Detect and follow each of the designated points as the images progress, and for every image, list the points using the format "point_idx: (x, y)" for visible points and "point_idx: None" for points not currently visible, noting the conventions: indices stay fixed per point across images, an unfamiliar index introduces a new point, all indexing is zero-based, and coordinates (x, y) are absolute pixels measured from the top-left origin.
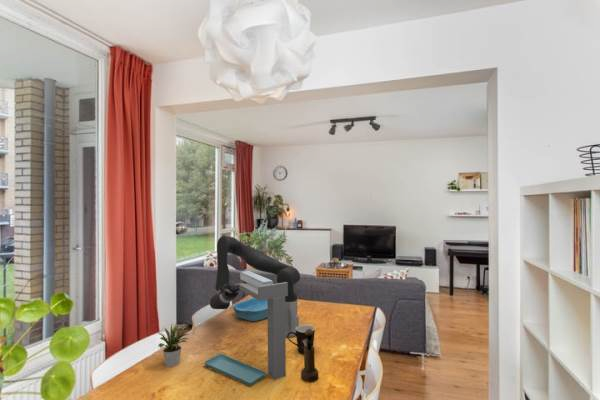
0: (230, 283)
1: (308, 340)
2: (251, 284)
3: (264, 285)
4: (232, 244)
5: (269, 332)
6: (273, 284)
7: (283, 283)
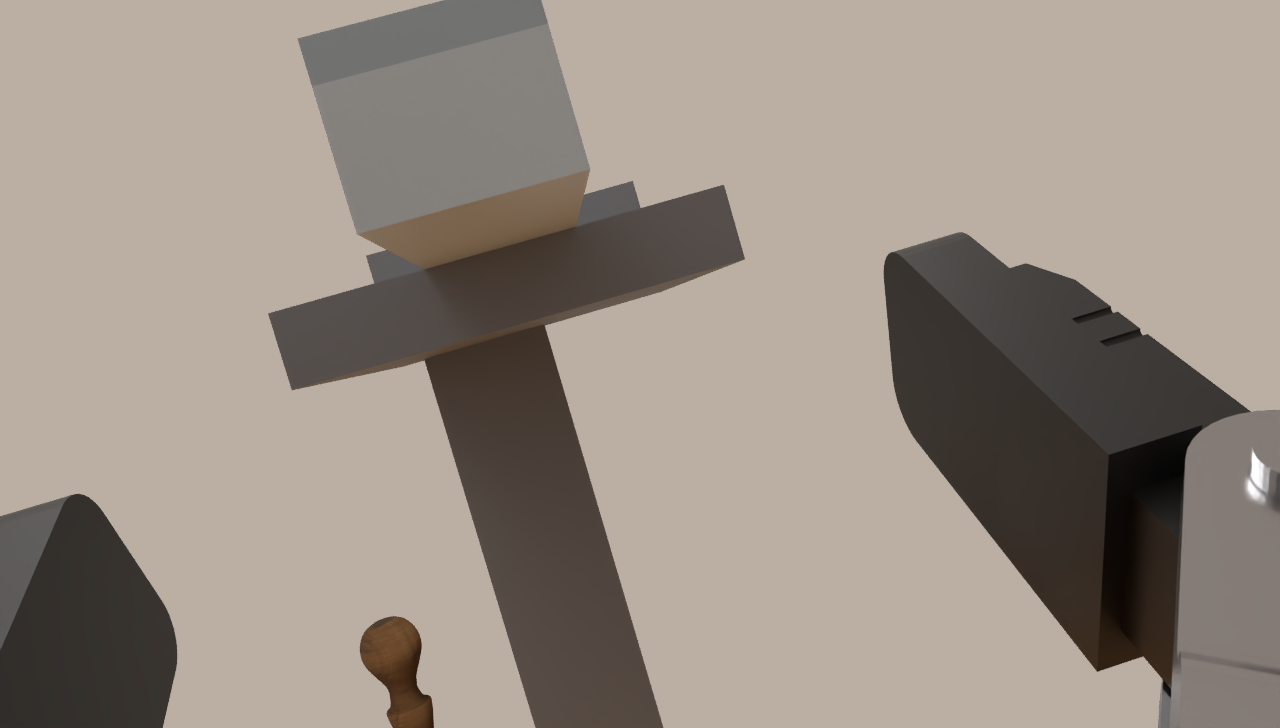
0: (896, 299)
1: (417, 687)
2: None
3: None
4: None
5: (634, 630)
6: None
7: None
